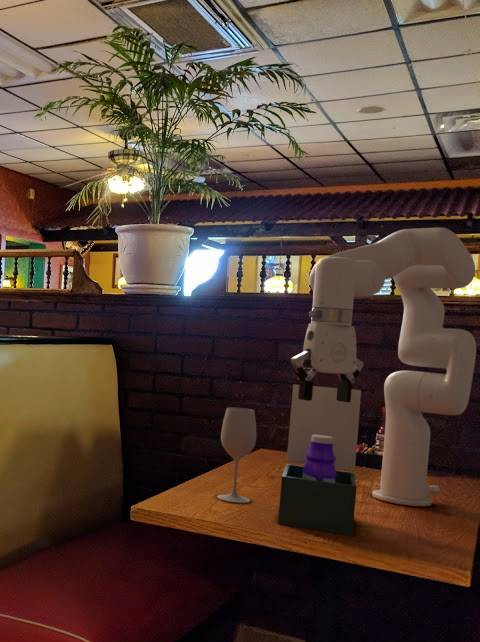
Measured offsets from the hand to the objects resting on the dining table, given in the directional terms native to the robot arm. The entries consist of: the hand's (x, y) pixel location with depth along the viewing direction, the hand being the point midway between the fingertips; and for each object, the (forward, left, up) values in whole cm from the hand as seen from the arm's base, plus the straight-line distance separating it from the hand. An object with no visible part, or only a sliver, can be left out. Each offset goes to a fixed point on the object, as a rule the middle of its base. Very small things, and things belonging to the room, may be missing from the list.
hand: (324, 400), depth 154 cm
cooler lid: (-8, -8, -7) cm, 13 cm away
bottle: (0, 0, -25) cm, 25 cm away
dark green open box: (-2, -2, -26) cm, 26 cm away
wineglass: (+5, -20, -26) cm, 33 cm away
